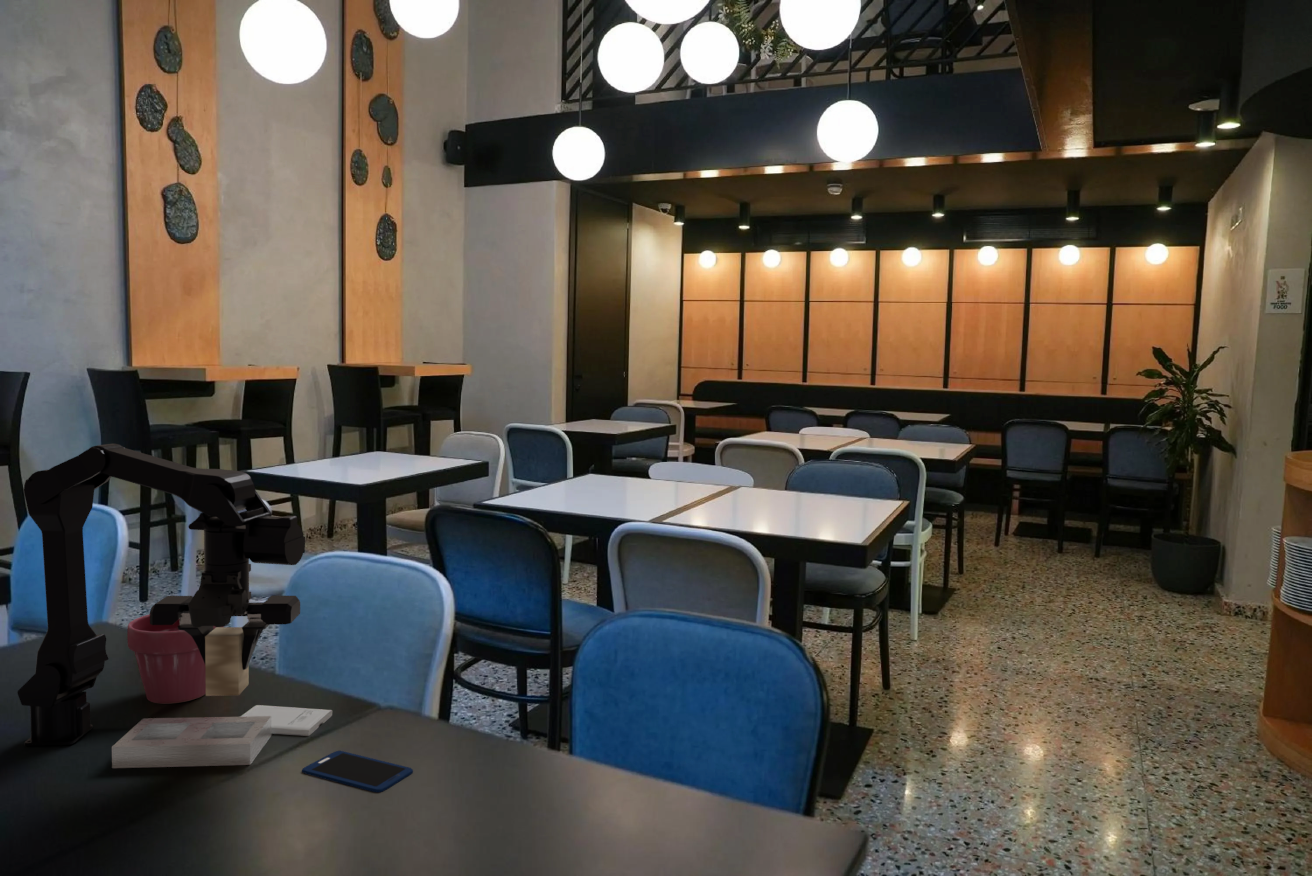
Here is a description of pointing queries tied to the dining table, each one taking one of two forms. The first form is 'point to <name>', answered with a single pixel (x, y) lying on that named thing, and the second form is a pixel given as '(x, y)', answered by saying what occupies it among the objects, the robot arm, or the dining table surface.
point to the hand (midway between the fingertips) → (227, 668)
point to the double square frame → (192, 742)
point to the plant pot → (167, 661)
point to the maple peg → (225, 662)
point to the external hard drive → (291, 719)
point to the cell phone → (358, 771)
